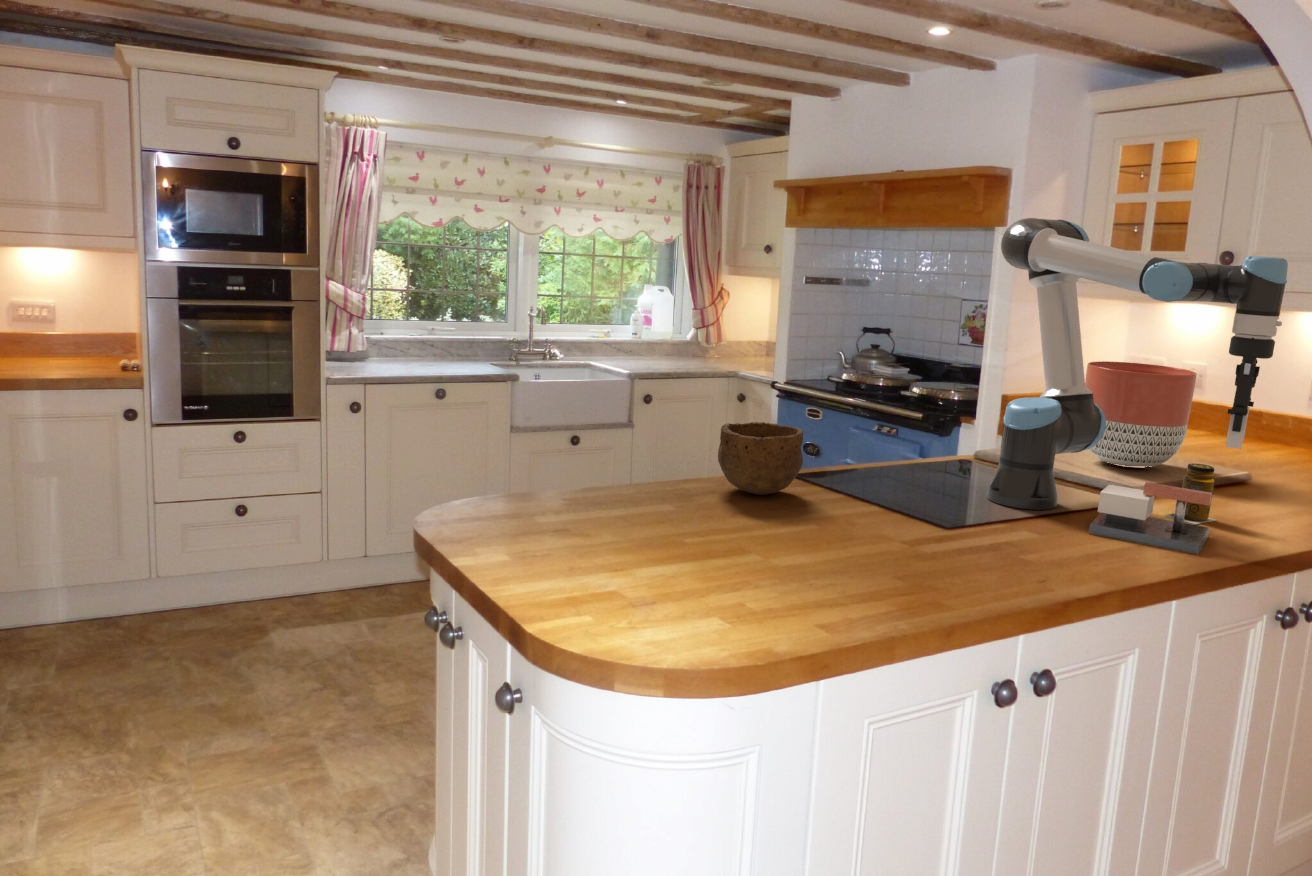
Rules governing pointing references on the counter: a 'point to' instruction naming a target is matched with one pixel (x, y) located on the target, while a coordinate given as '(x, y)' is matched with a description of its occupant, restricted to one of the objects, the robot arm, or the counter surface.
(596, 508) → the counter surface
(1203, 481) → the condiment
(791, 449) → the bowl
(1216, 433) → the counter surface
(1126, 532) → the latch plate
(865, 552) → the counter surface
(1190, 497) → the t key
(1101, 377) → the planter
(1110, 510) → the cover
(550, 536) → the counter surface
